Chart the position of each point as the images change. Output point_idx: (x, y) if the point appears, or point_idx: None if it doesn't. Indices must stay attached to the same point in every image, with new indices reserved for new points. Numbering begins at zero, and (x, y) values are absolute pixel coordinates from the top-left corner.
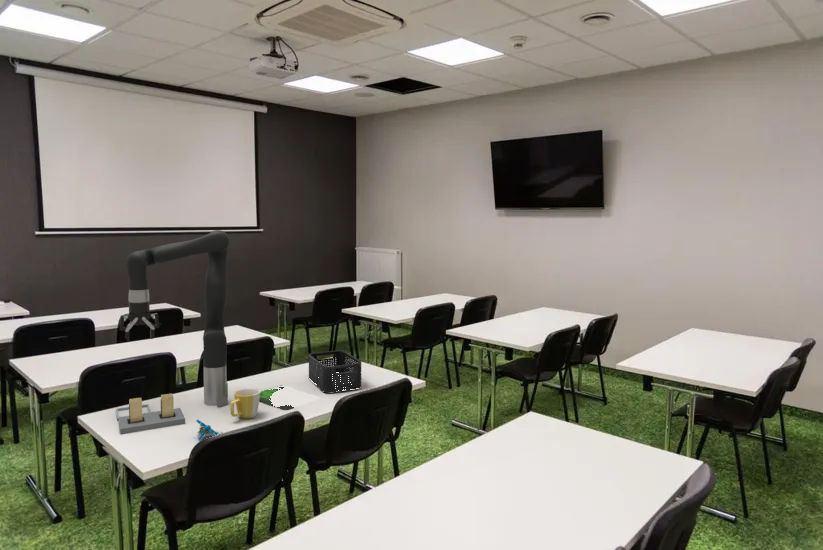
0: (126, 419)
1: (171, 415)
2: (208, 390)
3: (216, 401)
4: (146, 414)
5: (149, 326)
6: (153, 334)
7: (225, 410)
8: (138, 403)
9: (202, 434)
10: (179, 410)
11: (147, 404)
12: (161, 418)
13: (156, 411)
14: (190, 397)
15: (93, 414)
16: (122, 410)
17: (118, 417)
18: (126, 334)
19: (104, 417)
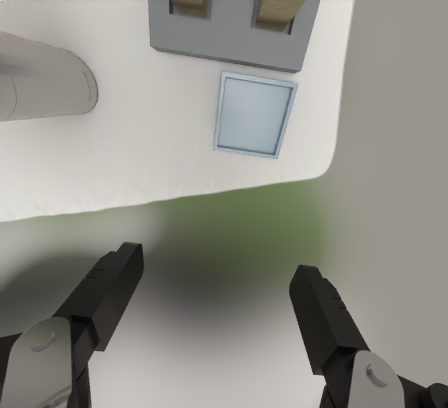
0: (292, 32)
1: None
2: (46, 55)
3: (51, 46)
4: (238, 44)
5: (63, 389)
6: (99, 272)
7: (38, 5)
8: None
9: None
10: (154, 18)
11: (216, 147)
12: (206, 11)
13: (211, 55)
14: (127, 167)
15: (309, 175)
16: (265, 153)
17: (293, 90)
18: (344, 322)
19: (300, 145)
